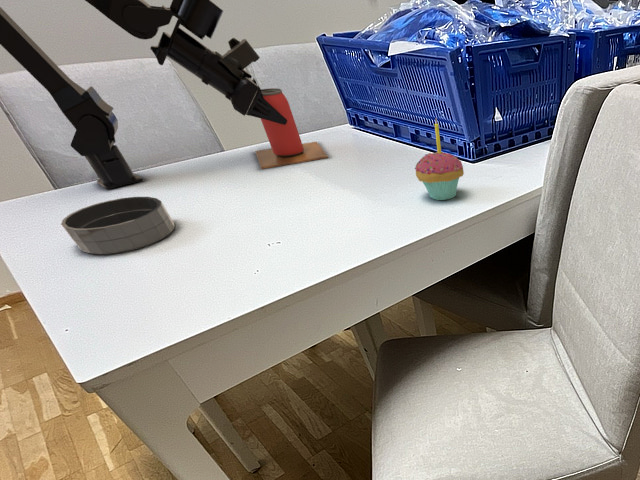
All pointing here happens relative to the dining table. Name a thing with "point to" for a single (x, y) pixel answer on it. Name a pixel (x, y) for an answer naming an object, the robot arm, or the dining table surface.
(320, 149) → the cork mat
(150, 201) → the pan
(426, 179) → the cupcake
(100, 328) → the dining table surface
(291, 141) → the beer can
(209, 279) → the dining table surface
